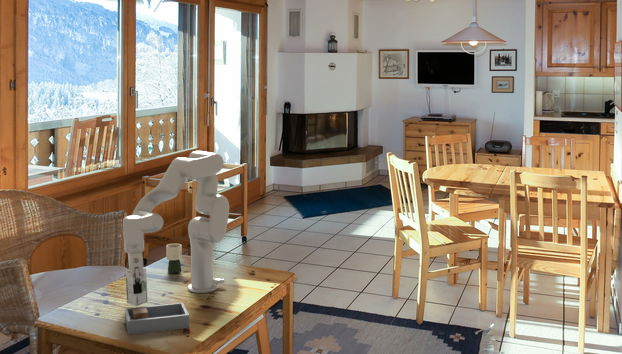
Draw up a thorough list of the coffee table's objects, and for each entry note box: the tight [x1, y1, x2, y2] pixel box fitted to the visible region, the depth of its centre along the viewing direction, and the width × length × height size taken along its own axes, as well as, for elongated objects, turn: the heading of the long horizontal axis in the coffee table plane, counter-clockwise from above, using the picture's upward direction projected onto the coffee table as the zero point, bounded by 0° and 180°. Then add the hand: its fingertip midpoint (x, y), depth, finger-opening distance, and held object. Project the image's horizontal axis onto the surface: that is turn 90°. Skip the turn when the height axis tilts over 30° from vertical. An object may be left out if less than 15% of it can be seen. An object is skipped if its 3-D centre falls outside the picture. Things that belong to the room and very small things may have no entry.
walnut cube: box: [133, 308, 148, 320], centre depth 264 cm, size 5×5×5 cm
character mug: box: [165, 243, 183, 274], centre depth 329 cm, size 11×7×13 cm, turn 33°
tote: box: [124, 302, 190, 336], centre depth 266 cm, size 22×14×5 cm, turn 109°
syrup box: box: [125, 266, 148, 307], centre depth 280 cm, size 6×6×14 cm
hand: (136, 289), depth 281 cm, fingers closed on syrup box, 7 cm apart
